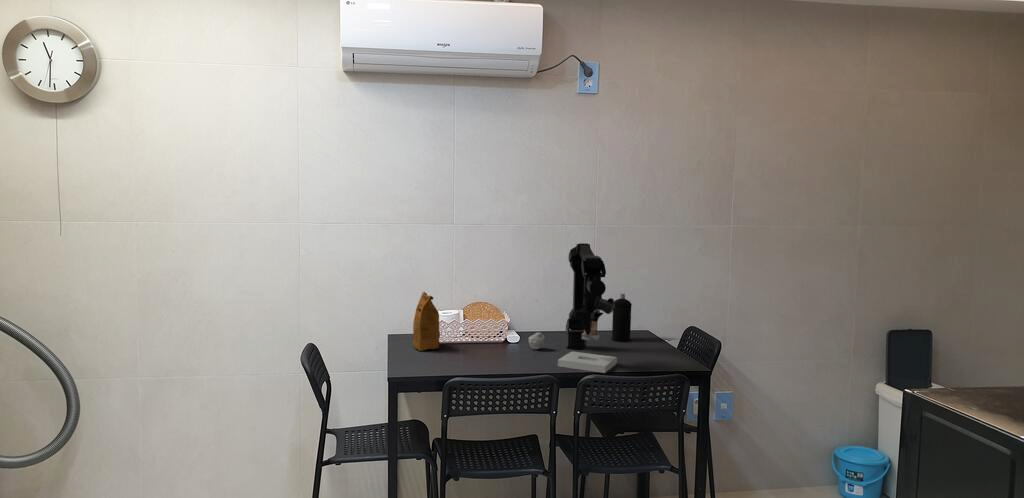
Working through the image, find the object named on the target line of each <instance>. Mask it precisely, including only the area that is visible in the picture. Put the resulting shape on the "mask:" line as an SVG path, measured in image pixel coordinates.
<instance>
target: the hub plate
mask: <svg viewBox="0 0 1024 498" xmlns="http://www.w3.org/2000/svg"><path fill="white" fill-rule="evenodd" d="M617 363H618V357H616V356H611V355H601V354H596V353H595V354H593V353H587V352H579V351H573V350H572V351H570V352H568V353H566V354H565V355H564V356H562V357H560V358H559V359H557V367H561V368H567V369H574V370H580V371H581V370H582V371H588V372H589V371H590V372H595V373H603V374H606V373H607V372H608V371H609V370H610V369H612V368H614V367H615V366H616V365H617Z"/></svg>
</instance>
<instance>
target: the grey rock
mask: <svg viewBox="0 0 1024 498" xmlns="http://www.w3.org/2000/svg"><path fill="white" fill-rule="evenodd" d="M527 339H528V344H529V346H530V348H531V349H532V350H534V351H535V350H536V351H537V350H540V349H541V347H543V343H544V342H545V340H546V336H545V335H544V334H543V333H542V332H535V333H534V334H532V335H529V337H528V338H527Z"/></svg>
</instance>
